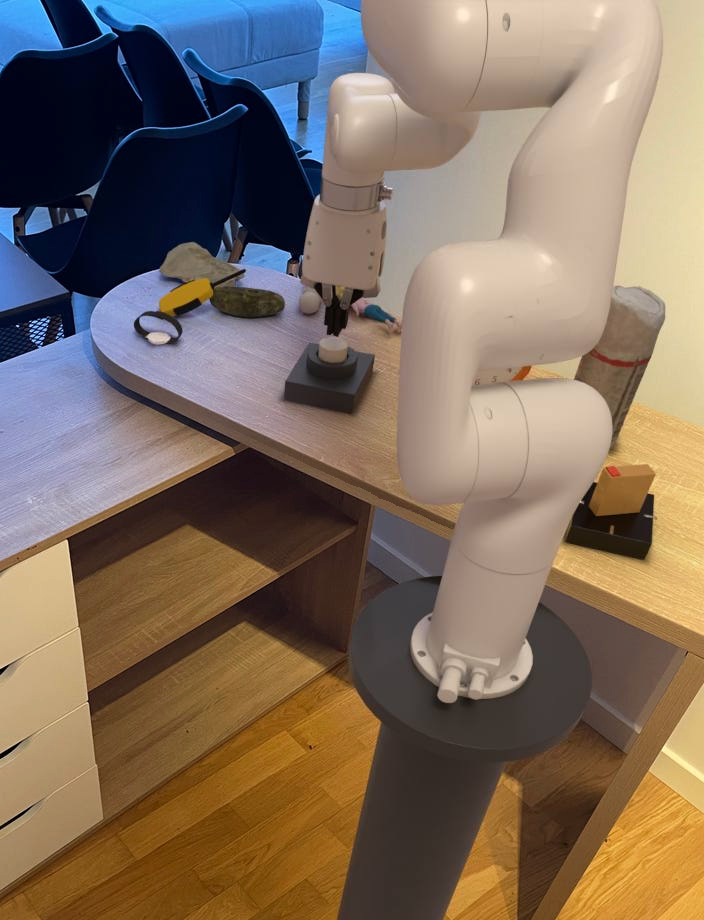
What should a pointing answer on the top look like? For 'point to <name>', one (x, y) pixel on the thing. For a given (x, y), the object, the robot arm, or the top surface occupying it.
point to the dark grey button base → (329, 380)
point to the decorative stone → (247, 301)
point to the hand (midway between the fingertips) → (334, 331)
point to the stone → (197, 265)
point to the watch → (158, 336)
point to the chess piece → (309, 300)
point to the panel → (613, 528)
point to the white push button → (333, 349)
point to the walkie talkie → (190, 295)
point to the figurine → (372, 311)
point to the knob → (621, 489)
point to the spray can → (623, 350)
